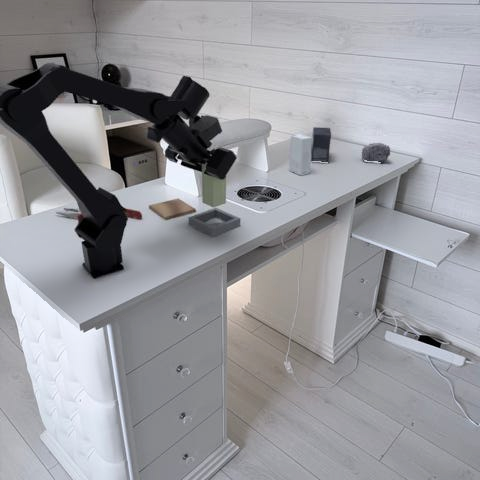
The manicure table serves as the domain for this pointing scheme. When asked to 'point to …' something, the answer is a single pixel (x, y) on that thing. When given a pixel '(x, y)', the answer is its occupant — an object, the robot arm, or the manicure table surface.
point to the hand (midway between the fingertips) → (218, 175)
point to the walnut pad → (172, 208)
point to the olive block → (213, 190)
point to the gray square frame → (230, 224)
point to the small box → (320, 144)
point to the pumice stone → (376, 152)
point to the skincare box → (300, 154)
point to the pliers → (78, 215)
